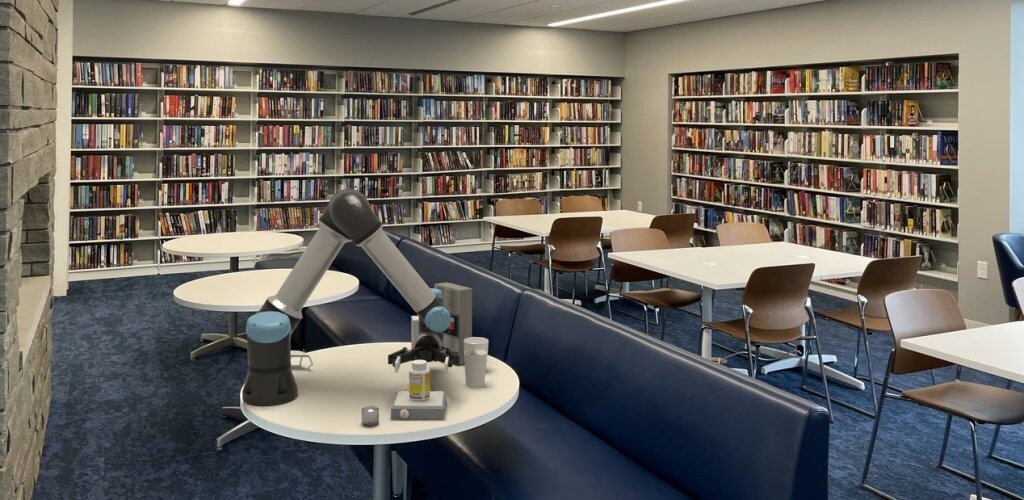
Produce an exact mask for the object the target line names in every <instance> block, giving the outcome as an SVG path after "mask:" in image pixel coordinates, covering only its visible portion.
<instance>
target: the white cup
mask: <svg viewBox="0 0 1024 500" xmlns="http://www.w3.org/2000/svg"><path fill="white" fill-rule="evenodd" d="M473 349H476V350H484V351H486V369H485V372H487V366H488V365H487V363H488V355H489V353H488V352H489V339H488V338H486V337H476V336H472V337H471V338H466V339H464V361H465V351H467V350H473Z"/></svg>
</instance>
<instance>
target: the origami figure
mask: <svg viewBox="0 0 1024 500" xmlns="http://www.w3.org/2000/svg"><path fill="white" fill-rule="evenodd" d="M292 358H300V359H299V366H300V367H301V366H302V361H303V358H308V360H309V363H310V365H309V366H308V367H307V369H306V371H307V372H309V371H310V368H311V367H312V366H313V365H314V363H313V359H312V357H311V356H310V354H308V353H307V352H304V351H301V350H291V359H292ZM291 369H293V366H291Z"/></svg>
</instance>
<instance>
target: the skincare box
mask: <svg viewBox="0 0 1024 500" xmlns="http://www.w3.org/2000/svg"><path fill="white" fill-rule="evenodd" d="M410 317H411V320H410V321H411V326H410V328H411V329H410V330H411V335H410V337H411V350H412V349H413V348H414V347H415V344H416V342H417V339H418V322H419V317H418V315H411V316H410Z"/></svg>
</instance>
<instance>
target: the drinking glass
mask: <svg viewBox="0 0 1024 500" xmlns="http://www.w3.org/2000/svg"><path fill="white" fill-rule="evenodd" d="M486 364H487V363H486V351H484V350H476V349H473V350H467V351H465V364H464V373H465V375H464V377H465V380H464V381H465V386H466V387H468V388H473V389H474V388H475V389H476V388H482V387H484V386H485V385H486V384H485V383H486V371H485V369H486V370H487V367H486Z"/></svg>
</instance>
